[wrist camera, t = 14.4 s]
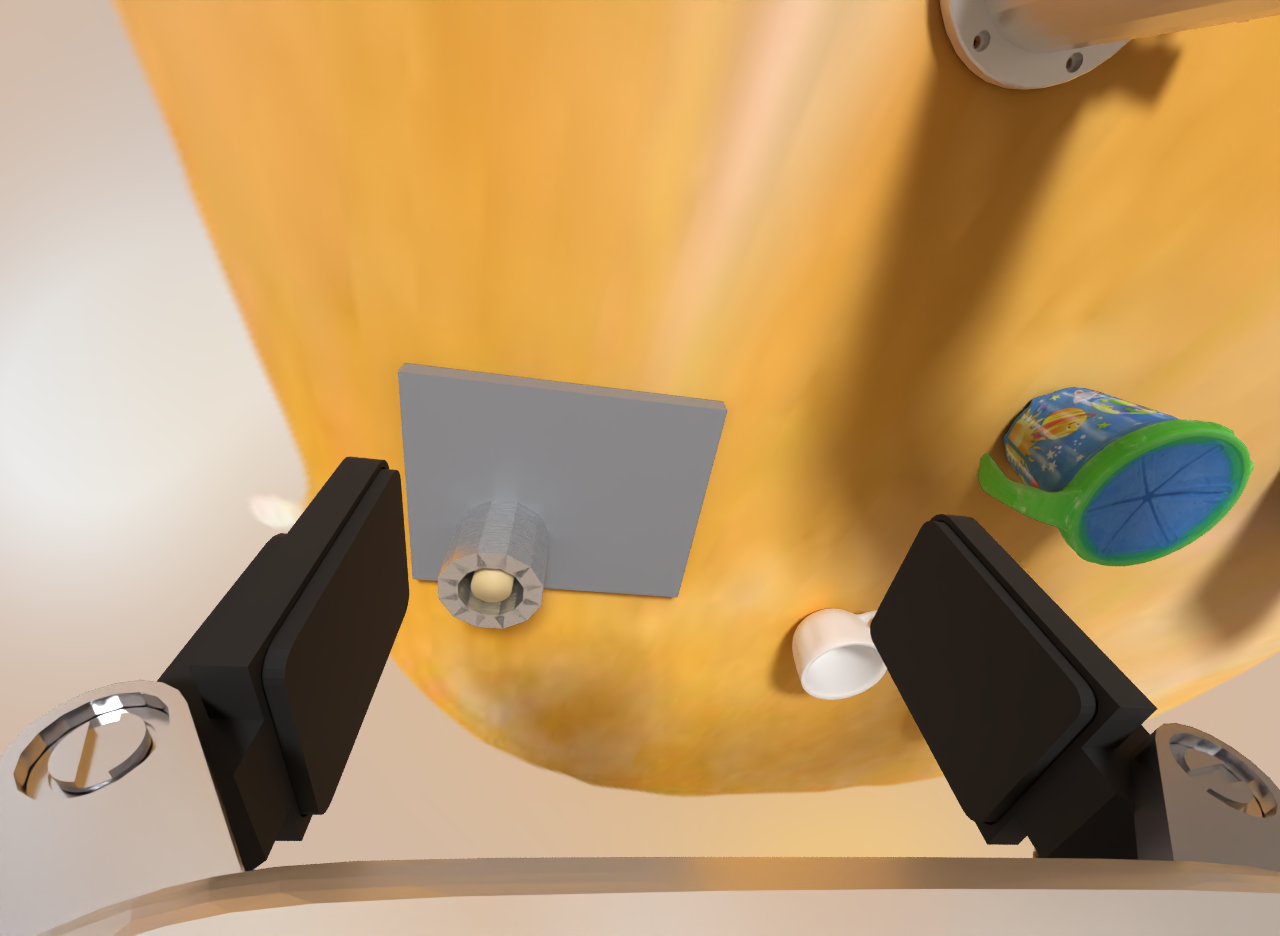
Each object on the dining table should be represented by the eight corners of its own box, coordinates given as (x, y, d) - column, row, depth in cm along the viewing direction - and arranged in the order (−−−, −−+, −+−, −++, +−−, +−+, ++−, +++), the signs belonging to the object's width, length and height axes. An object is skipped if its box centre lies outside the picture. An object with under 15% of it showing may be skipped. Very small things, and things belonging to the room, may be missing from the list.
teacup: (813, 663, 56) (833, 710, 51) (767, 629, 53) (783, 676, 48) (897, 609, 53) (926, 655, 48) (853, 569, 50) (879, 614, 45)
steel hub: (552, 504, 42) (545, 557, 37) (545, 574, 45) (539, 630, 40) (456, 496, 41) (436, 549, 36) (457, 567, 44) (439, 624, 39)
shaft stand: (723, 401, 40) (745, 449, 34) (675, 585, 49) (686, 648, 43) (404, 363, 37) (367, 408, 31) (417, 566, 46) (391, 631, 40)
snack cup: (932, 490, 45) (1011, 575, 37) (970, 369, 40) (1073, 436, 31) (1114, 480, 46) (1233, 561, 37) (1176, 360, 40) (1333, 423, 32)
